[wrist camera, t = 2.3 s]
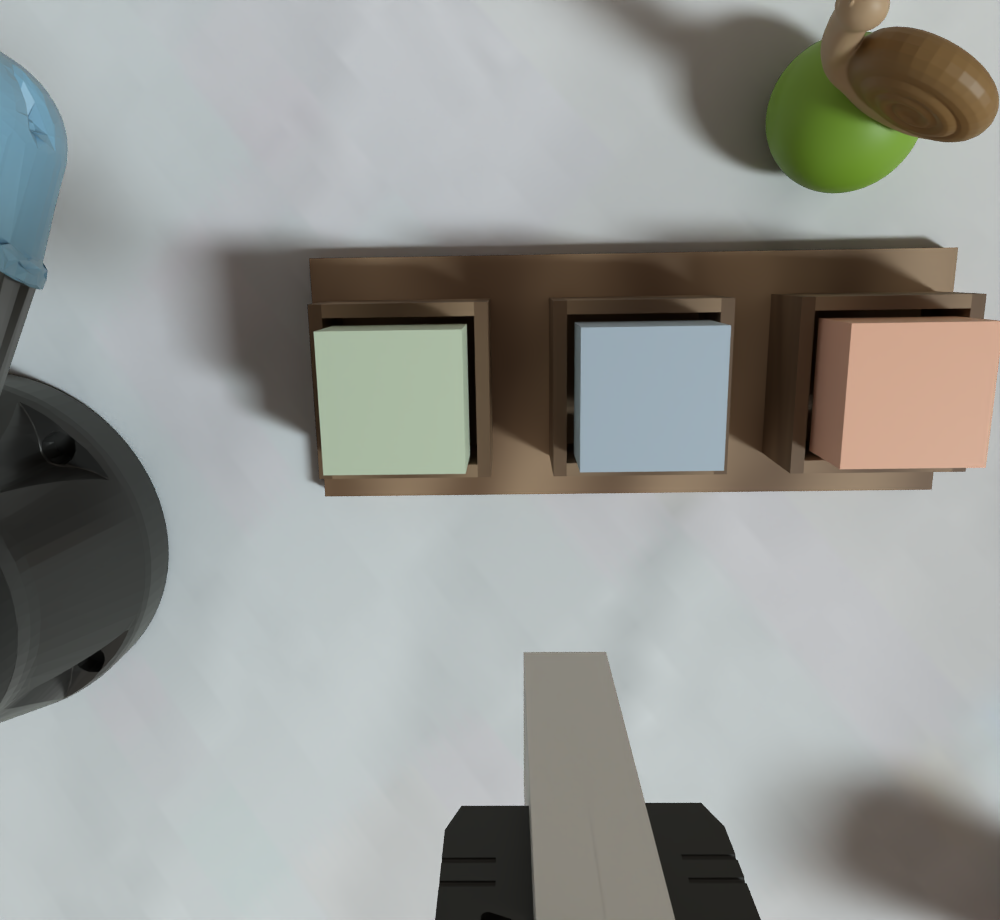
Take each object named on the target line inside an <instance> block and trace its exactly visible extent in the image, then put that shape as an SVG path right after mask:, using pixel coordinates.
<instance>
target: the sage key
mask: <svg viewBox="0 0 1000 920" xmlns="http://www.w3.org/2000/svg"><path fill="white" fill-rule="evenodd" d="M314 345H315V360H316V374H317V389H318V404H319V418H320V433H321V448H322V462H323V475H401V474H466V470H467V466H468V461H469V457H470V433H469V394H468V354H467V324H410V325H345V326H330V327H327V328H324V329H321V330H317V331H314Z"/></svg>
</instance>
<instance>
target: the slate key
mask: <svg viewBox="0 0 1000 920" xmlns="http://www.w3.org/2000/svg"><path fill="white" fill-rule="evenodd" d="M730 337H731V325H728V324H724V323H720V322H716V321H712V320H671V321H606V322H574V456H575V459H576V462H577V465H578V468H579V471H580V472H655V471H724V461H725V440H726V420H727V399H728V379H729V358H730Z"/></svg>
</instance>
